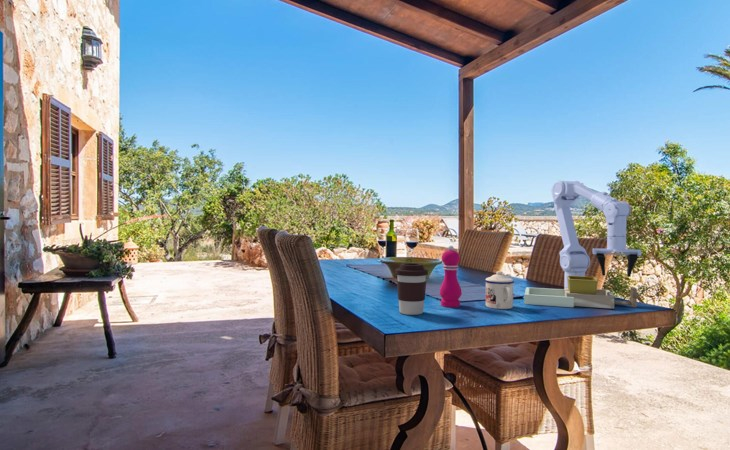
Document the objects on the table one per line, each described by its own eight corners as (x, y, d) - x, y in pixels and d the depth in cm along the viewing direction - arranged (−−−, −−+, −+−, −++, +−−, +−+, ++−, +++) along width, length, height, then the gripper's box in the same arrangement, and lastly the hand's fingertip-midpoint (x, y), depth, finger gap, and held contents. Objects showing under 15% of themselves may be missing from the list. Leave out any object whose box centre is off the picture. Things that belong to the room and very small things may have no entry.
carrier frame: (564, 298, 164) (564, 281, 164) (631, 302, 156) (631, 285, 156) (566, 305, 151) (566, 287, 151) (639, 310, 143) (639, 291, 143)
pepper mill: (460, 303, 154) (460, 245, 154) (462, 308, 147) (463, 246, 147) (438, 303, 155) (439, 244, 154) (440, 307, 148) (440, 246, 147)
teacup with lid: (480, 304, 153) (480, 270, 153) (504, 303, 155) (505, 269, 154) (497, 311, 141) (497, 274, 141) (523, 310, 143) (524, 273, 143)
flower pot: (597, 307, 149) (598, 280, 149) (568, 305, 152) (568, 278, 152) (594, 302, 157) (594, 276, 157) (566, 301, 160) (567, 275, 160)
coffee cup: (401, 317, 133) (401, 266, 133) (390, 310, 143) (391, 262, 142) (432, 315, 136) (433, 265, 136) (420, 308, 145) (420, 262, 145)
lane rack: (526, 295, 170) (526, 287, 170) (570, 298, 165) (570, 289, 165) (524, 304, 154) (524, 294, 154) (573, 307, 149) (573, 297, 148)
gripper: (594, 236, 155) (593, 276, 155) (643, 237, 149) (642, 278, 150) (592, 235, 161) (591, 273, 161) (639, 236, 156) (638, 275, 156)
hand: (616, 275), depth 156 cm, fingers open, 7 cm apart
